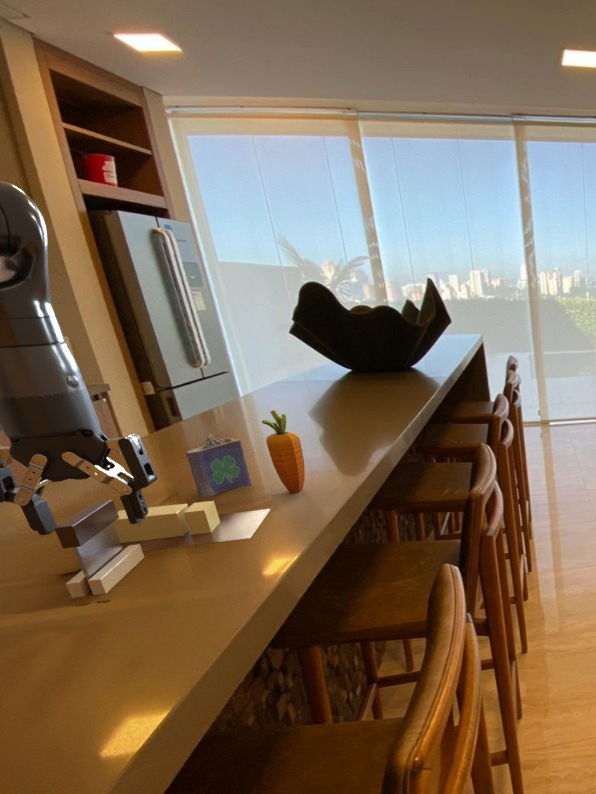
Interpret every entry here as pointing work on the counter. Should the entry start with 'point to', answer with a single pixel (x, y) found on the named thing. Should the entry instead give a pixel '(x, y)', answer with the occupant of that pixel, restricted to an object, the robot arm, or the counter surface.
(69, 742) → the counter surface
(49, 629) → the counter surface
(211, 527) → the butter slice
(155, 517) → the butter
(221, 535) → the board
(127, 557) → the rest
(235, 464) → the flask
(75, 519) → the dough scraper
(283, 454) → the carrot
